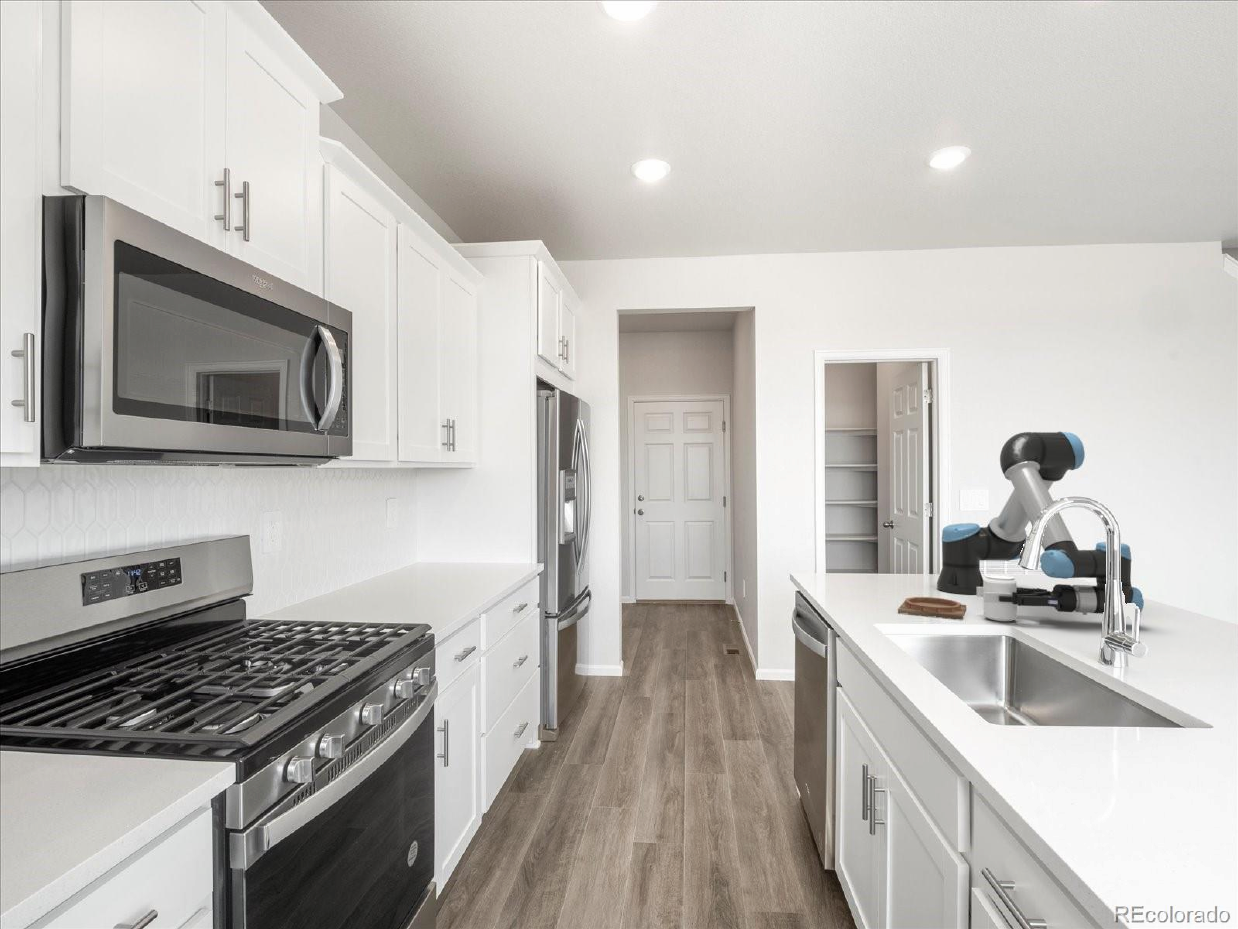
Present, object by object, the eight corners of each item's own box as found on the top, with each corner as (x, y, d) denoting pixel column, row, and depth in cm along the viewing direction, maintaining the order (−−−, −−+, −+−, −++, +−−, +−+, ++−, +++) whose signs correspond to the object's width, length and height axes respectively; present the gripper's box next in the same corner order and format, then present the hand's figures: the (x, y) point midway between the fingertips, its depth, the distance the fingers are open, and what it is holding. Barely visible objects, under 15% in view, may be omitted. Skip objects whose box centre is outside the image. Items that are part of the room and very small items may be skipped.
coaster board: (906, 603, 205) (906, 594, 205) (966, 608, 196) (966, 600, 196) (897, 613, 191) (897, 604, 191) (962, 620, 182) (962, 610, 182)
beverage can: (1007, 615, 185) (1007, 574, 186) (1022, 622, 177) (1022, 579, 177) (978, 615, 186) (978, 573, 186) (991, 621, 178) (991, 578, 178)
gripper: (1089, 620, 167) (991, 615, 173) (1058, 604, 187) (971, 600, 193) (1088, 592, 167) (991, 588, 173) (1058, 578, 187) (971, 575, 193)
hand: (980, 594), depth 183 cm, fingers closed on beverage can, 8 cm apart
